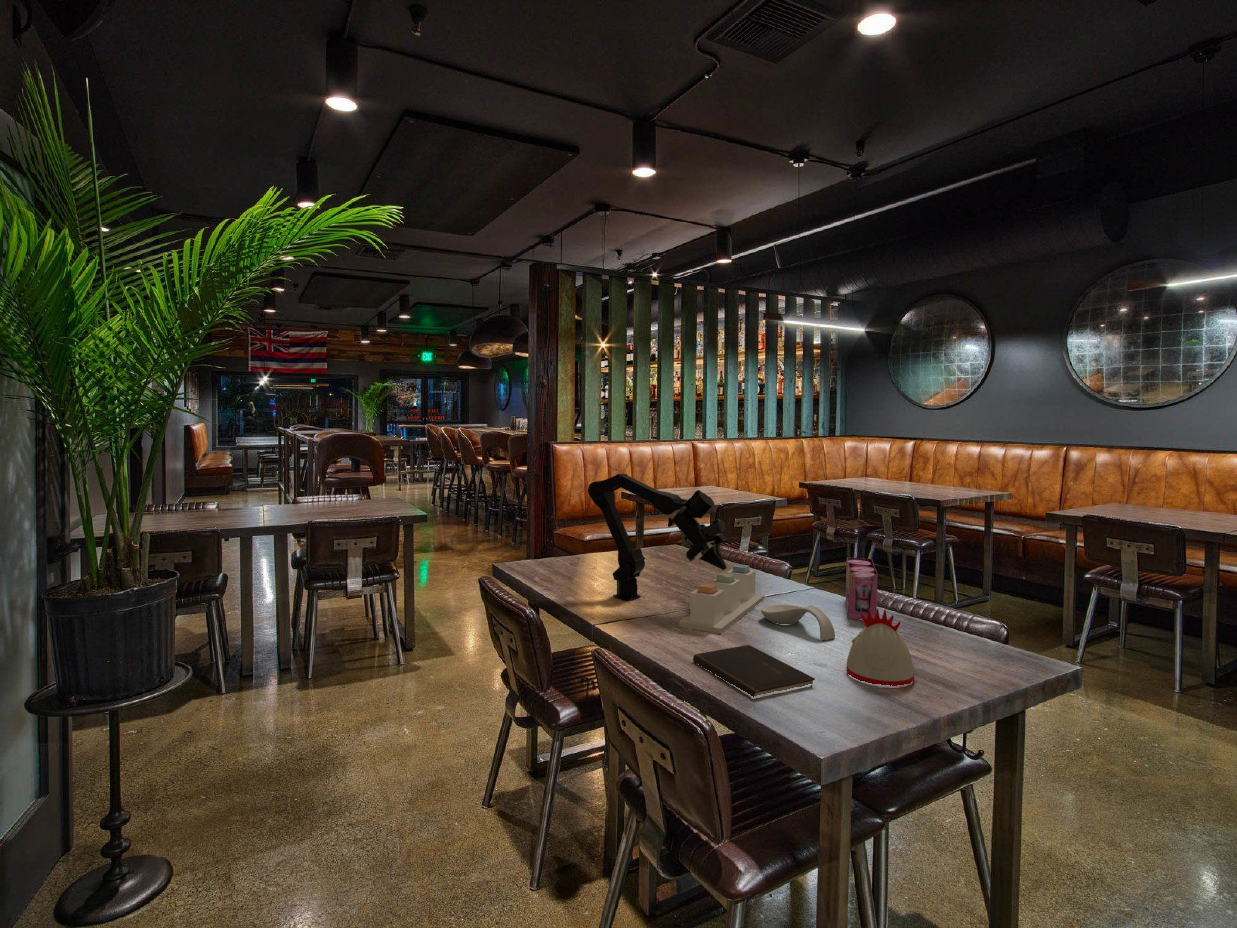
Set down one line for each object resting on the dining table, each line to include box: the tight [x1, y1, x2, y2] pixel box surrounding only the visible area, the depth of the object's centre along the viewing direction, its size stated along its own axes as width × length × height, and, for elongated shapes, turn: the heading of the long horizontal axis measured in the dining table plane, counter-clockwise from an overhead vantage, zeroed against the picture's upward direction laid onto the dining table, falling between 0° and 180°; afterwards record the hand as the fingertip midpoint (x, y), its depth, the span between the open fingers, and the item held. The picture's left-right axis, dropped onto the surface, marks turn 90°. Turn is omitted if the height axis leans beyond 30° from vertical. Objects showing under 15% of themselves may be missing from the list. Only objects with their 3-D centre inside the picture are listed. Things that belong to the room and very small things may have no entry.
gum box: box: [845, 557, 878, 620], centre depth 191 cm, size 24×8×14 cm, turn 162°
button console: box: [679, 568, 765, 634], centre depth 189 cm, size 12×38×10 cm, turn 150°
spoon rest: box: [760, 604, 836, 641], centre depth 175 cm, size 24×12×7 cm, turn 28°
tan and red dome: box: [845, 608, 915, 686], centre depth 141 cm, size 14×14×15 cm
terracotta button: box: [697, 582, 717, 595], centre depth 176 cm, size 4×4×4 cm
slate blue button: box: [732, 563, 750, 574], centre depth 200 cm, size 4×4×4 cm
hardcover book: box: [692, 644, 816, 697], centre depth 143 cm, size 16×23×2 cm
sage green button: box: [715, 572, 734, 584], centre depth 188 cm, size 4×4×4 cm
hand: (725, 568), depth 188 cm, fingers closed
